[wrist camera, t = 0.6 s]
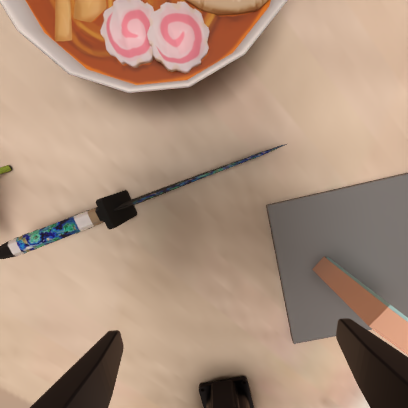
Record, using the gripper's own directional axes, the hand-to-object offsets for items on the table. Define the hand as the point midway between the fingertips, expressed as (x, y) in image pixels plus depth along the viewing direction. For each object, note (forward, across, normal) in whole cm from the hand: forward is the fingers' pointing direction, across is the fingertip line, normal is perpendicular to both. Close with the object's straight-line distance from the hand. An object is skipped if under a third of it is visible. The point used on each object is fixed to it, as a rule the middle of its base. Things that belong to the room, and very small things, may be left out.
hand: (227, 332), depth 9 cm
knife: (+17, +7, -2) cm, 18 cm away
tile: (+15, -15, +10) cm, 23 cm away
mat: (+15, -16, +8) cm, 24 cm away
